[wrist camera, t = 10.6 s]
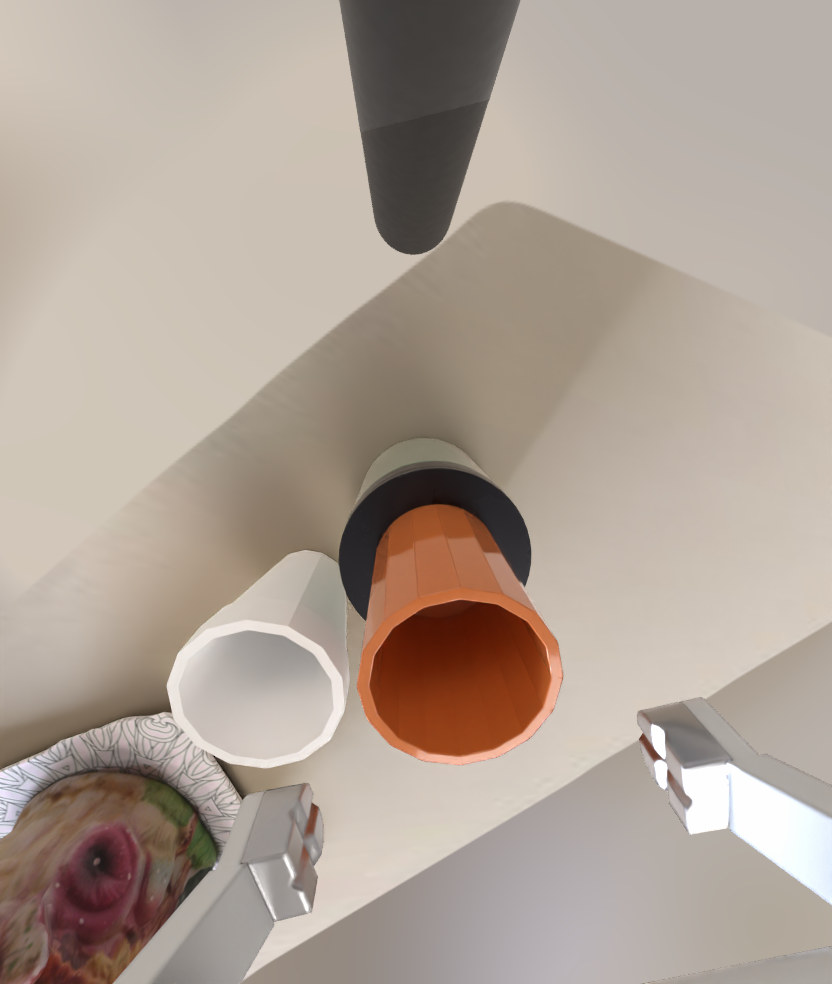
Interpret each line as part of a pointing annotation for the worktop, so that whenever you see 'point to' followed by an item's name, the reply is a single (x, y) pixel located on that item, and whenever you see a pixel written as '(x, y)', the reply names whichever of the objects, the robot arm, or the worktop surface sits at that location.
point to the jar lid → (417, 490)
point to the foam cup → (268, 667)
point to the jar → (415, 458)
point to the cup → (453, 643)
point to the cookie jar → (104, 847)
